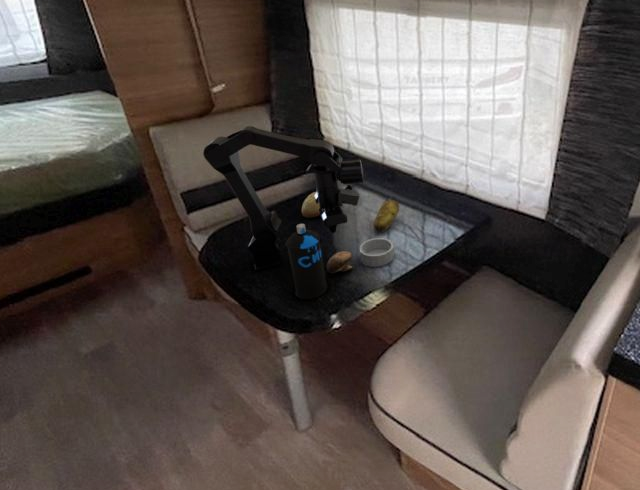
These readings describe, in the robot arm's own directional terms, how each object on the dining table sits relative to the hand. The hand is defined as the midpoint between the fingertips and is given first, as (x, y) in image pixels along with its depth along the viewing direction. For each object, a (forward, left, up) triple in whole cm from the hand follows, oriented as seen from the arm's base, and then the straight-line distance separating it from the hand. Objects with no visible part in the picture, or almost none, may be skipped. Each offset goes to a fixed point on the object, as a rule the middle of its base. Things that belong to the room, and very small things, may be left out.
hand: (333, 232), depth 125 cm
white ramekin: (+11, -7, -8) cm, 15 cm away
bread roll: (+1, +31, -8) cm, 32 cm away
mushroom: (0, -8, -8) cm, 12 cm away
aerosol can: (-9, -14, -8) cm, 19 cm away
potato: (+19, +11, -8) cm, 23 cm away
